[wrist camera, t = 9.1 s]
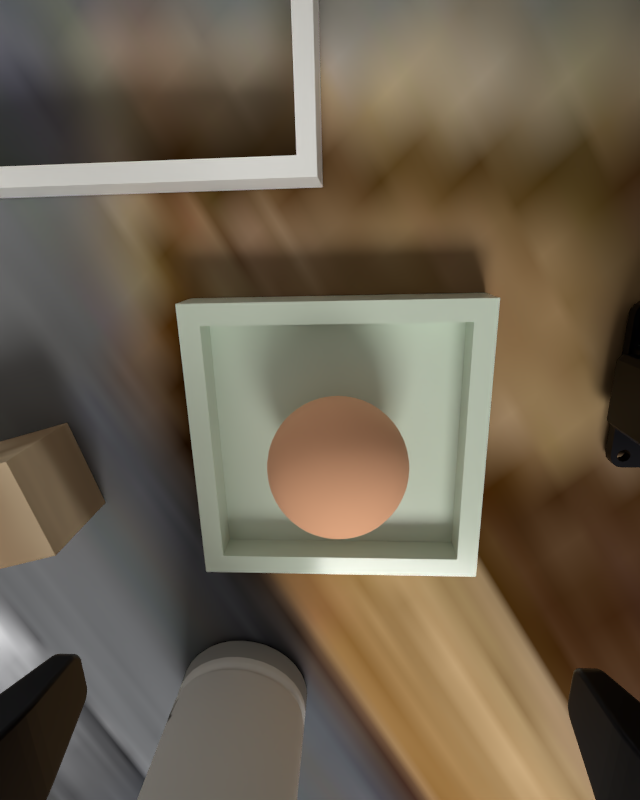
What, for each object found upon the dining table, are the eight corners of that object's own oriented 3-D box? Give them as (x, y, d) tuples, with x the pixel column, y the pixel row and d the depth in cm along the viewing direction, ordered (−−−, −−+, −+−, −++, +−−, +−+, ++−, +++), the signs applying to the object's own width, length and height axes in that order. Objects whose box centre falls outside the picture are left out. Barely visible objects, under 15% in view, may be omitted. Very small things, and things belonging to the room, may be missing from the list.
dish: (486, 292, 18) (500, 298, 16) (465, 550, 22) (475, 576, 20) (191, 298, 19) (175, 304, 17) (217, 546, 22) (206, 571, 21)
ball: (402, 378, 19) (423, 424, 14) (398, 493, 20) (416, 571, 16) (273, 380, 19) (251, 426, 14) (279, 494, 21) (261, 570, 16)
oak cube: (68, 422, 21) (5, 461, 17) (106, 501, 22) (55, 555, 18) (-12, 444, 22) (-90, 487, 18) (29, 521, 23) (-36, 577, 19)
